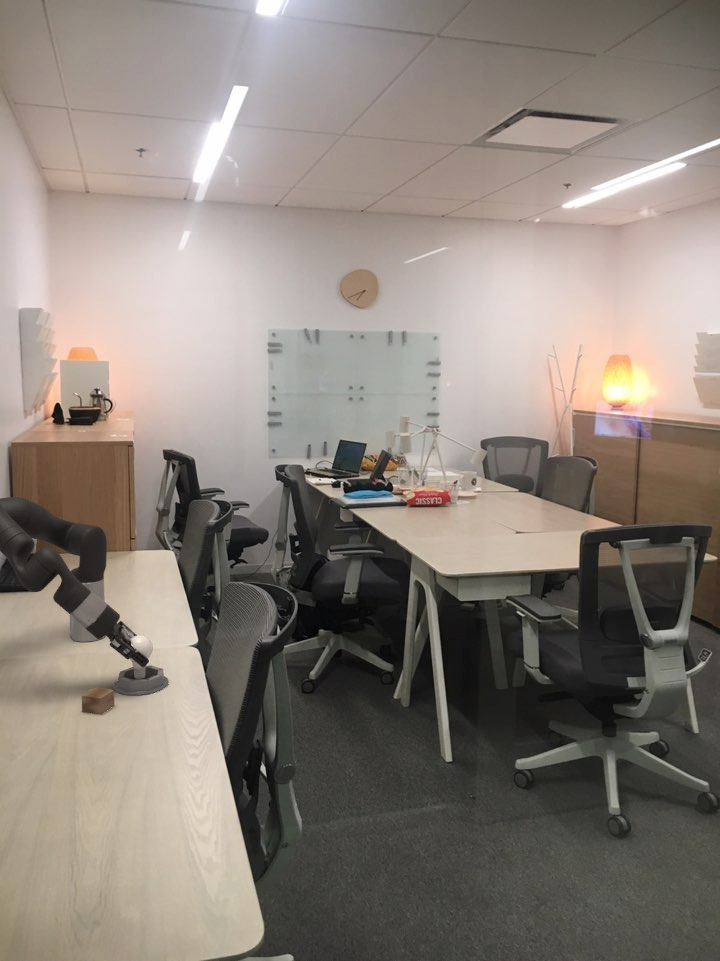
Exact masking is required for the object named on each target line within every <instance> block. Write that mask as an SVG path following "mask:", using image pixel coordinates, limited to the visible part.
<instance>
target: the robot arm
mask: <svg viewBox="0 0 720 961" xmlns="http://www.w3.org/2000/svg"><path fill="white" fill-rule="evenodd" d="M34 540H37V541H38V540H39V541H43V542H46V543H49V544H51V545H53V546H55V547H56V548H59V549H61V550H63V551H64V552H66V553H68V554H71V555H73V556H74V555H75V556H77V557H79V560H78V561H79V563H78V567H76V568H73V569H71V570H70V568H69V567H68V565H67V564H66V562H65V560H64V559H63V556H62V555H61V554H60V553H59V552H58V551H57V550H56V549H54V548H52V547H48V546H47V547H42V548H40V549H39V550H38V551H37V552H36V553H34V555H33V556H32V557H31V558H29V557H30V555H31V553H32V552H33V550H34V548H35V541H34ZM107 548H108V544H107V535H106V533H105V531H104V530H103V528H102V527H101V526H98V525H93V524H88V523H87V524H85V523H78V522H73V521H68V520H66V519H62V518H59V517H57V516H56V515H54V514H53V513H52V512H50V511H49V510H48V509H47V508H46V507H44V506H43V505H40V504H39V503H37V502H34V501H31V500H29V499H27V498H24V497H21V496H10V497H9V496H8V497H2V498H0V553H2V555H3V556H4V557H5V559H7V560H8V562H9V563H10V566H11V567H12V569H13V571H14V573H15V575H16V577H17V579H18V581H19V583H20V584H21V586H22V587H23V588H25V589H26V590H27V591H29V592H31V593H40V592H41V591H43V590H44V589H45V588H46V587H47V586H48V585H49V584H51V582H53V580H54V579H55V578H57V576H58V575H59V577H60V580H61V581H60V584H59V586H58V588H57V589H56V591H55V592H54V593H53V596H52V598H53V602H55V603H56V604H57V605H58V606H59V607H61V608H62V609H63V610H64V611H65V612H67V614H69V631H70V632H69V634H70V637H71V638H72V640H73V641H75V642H81V643H84V642H85V643H86V642H95V641H99V640H102V639H103V638H105V637H107V638H108V639H109V642H110V643H109V645H108V646H110V647H111V648H112V649H113V650H115V651H116V652H118V654H120V655H121V656H122V657H123V658H125V659H126V660H128V661H129V660H130V659H131V658H132V659H133V660H134V661H135V662H136V663H138V664H139V665H140V666H141V667H145V666H148V664H149V662H150V658H149V659H147V658H146V657H145V656H144V655H143V654H142V653H140V652H139V651H138V650H137V649H136V648H135V647H134V646H133V641H132V640H131V638H132V637H134V636H137V635H138V634H136V632H134V631H133V630H132V629H131V628H130V627H129V626H127V625H126V624H125V623H124V622H123V621H122V620H120V618H121V615H120V613H118V612H117V611H116V610H115V609H113V608H112V607H111V606H110V605H109V604H108V603H107V602H106V600H105V598H106V597H105V576H104V574H105V571H106V568H107V556H108V555H107V552H108V551H107ZM28 559H29V560H28ZM127 649H128V650H130V651H129V652H128V651H127Z"/></svg>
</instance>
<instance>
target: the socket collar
mask: <svg viewBox="0 0 720 961" xmlns="http://www.w3.org/2000/svg"><path fill="white" fill-rule="evenodd" d="M164 675H165V674H164V668H162V667H158V666H155V665H152V664H151V665H146V667H145V678H143V679H139V680H138V679H136V678H134V676H135V675H134V667H133V666H131V667H128V668H126V669H124V670H121V671H119V673H118V677H117V680H116V681H115V682H114V684H113V690H114V692H116V693H118V694H120V695H122V696H133V697H135V696H138V697H140V696H147V695H152V694H155V692H156V693H158V692H157V691H159V692H161V691H163V690H164V689H163V688H165V687H166V686H167V685H168V686H169V684H168V683H170V681H169V678H168V677H167V676H164ZM168 686H167V687H168ZM167 687H166V688H167ZM166 688H165V689H166ZM162 689H163V690H162ZM160 690H161V691H160ZM151 693H152V694H151Z"/></svg>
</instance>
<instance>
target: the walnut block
mask: <svg viewBox="0 0 720 961" xmlns="http://www.w3.org/2000/svg"><path fill="white" fill-rule="evenodd" d="M113 706H114V707H115V690H114V689H109V688H101V687H94V688H92V689H90V690H88V691H87V692H85V693H84V694H82V695H81V713H84V714H86V713H87V714H91V713H92V714H93V715H98V714H100V716H102V715H103V714H105V713H107V712H108V711H110V710H111V709H112V708H111V707H113ZM114 707H113V708H114ZM110 708H111V709H110ZM109 709H110V710H109ZM107 710H108V711H107ZM104 712H105V713H104ZM92 714H91V715H92Z"/></svg>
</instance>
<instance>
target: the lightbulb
mask: <svg viewBox="0 0 720 961" xmlns="http://www.w3.org/2000/svg"><path fill="white" fill-rule="evenodd" d="M136 635H137V636H134V637H132V638H131V640H132V641H133V646H134V647H135V648H136V649H137V650H138V651H139V652H140V653H142V654H143V655H144V656H145V657H146V658H147V659H149V660H150V657H151V655H152V654H153V651H154V646H153V645H154V644H153V642H152V641H151V639H150V638H149V637H148V636H146V635H142V634H139V635H138V634H136ZM127 651H128V652H129V651H130V650H128V649H127ZM129 660H130V662H131V664H132V667H134V675H135V676H134V678H136V679H138V680H139V679H143V678H145V667H146V666H147V665H146V666H145V667H141V666H140V665H139V664H138V663H136V662H135V661H134V660H133V659H132V658H131V659H129Z"/></svg>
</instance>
